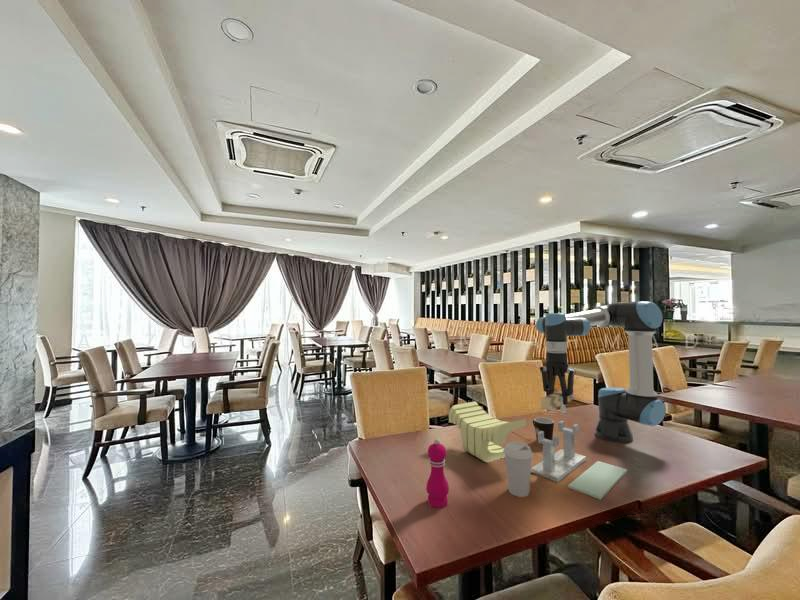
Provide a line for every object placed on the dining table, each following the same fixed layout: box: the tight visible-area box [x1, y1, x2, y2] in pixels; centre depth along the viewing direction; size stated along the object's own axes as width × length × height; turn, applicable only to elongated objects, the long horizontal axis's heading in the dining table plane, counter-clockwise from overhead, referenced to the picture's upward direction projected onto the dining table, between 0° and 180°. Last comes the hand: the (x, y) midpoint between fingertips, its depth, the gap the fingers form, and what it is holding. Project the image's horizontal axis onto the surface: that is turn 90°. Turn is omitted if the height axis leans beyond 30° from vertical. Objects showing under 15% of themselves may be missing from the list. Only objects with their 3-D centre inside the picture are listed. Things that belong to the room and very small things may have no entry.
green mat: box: [567, 460, 628, 501], centre depth 120 cm, size 28×10×1 cm, turn 131°
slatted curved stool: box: [448, 401, 527, 463], centre depth 142 cm, size 30×16×18 cm, turn 28°
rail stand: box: [530, 420, 587, 483], centre depth 131 cm, size 26×10×14 cm, turn 131°
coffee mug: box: [532, 417, 555, 445], centre depth 156 cm, size 12×9×10 cm
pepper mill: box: [426, 438, 450, 509], centre depth 107 cm, size 7×7×20 cm
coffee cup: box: [503, 441, 534, 498], centre depth 112 cm, size 10×10×15 cm
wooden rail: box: [540, 390, 574, 411], centre depth 131 cm, size 22×3×4 cm, turn 131°
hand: (558, 411), depth 131 cm, fingers closed on wooden rail, 3 cm apart
